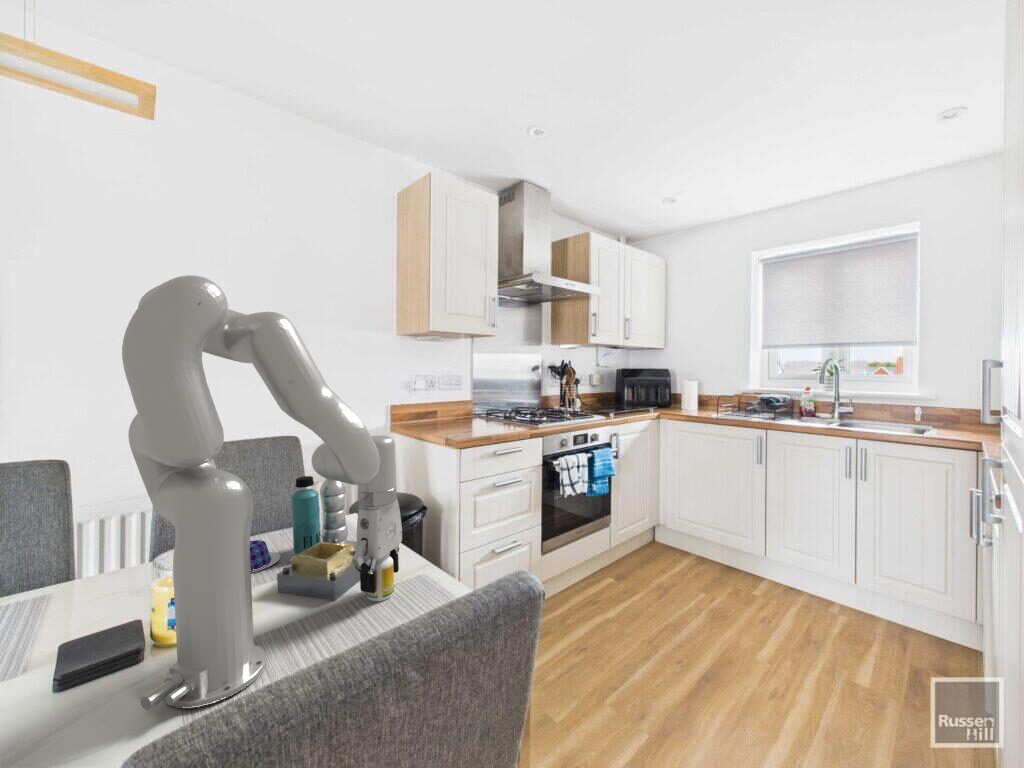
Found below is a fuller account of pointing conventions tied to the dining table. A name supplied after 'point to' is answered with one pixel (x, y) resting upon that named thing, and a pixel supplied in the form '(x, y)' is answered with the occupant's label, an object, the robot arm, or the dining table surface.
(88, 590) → the dining table surface
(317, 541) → the beverage bottle
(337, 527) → the plastic bottle
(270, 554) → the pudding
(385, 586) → the supplement bottle
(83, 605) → the dining table surface
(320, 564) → the grey tray with box
